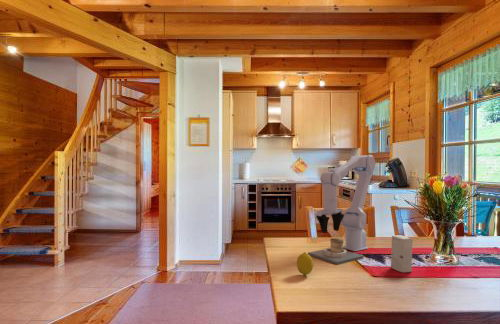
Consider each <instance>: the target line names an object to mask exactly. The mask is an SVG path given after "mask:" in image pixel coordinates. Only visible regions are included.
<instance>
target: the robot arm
mask: <svg viewBox="0 0 500 324" xmlns="http://www.w3.org/2000/svg"><path fill="white" fill-rule="evenodd" d="M375 168H376V159H375V157H374V156H373V155H372V154H368V155H367V154H365V155H364V154H363V155H352V156H350V158H349V160H348V161H346V162H345V163H344V164H341V163H338V164H336V165H335V167H334V168H331V169H330V170H329V171H324V172H323V173H322V174H321V176H320V179H319V180H320V183H321V187H322V189H323V198H322V199H323V200H322V201H323V202H322V204H323V209H321V210H317V211H316V220H317V222H318V223H319V226H320V229H321V233H324V234H327V232H328V224H329V219H330V217H329V216H330V215H331V218H332V225H333V226H332V227H333V231H336V232H338V231H339V230H340V226H342V227H343V229H345V234H344V237H345V242H344V243H345V245H343V249H344V250H347V251H348V250H349V251H352V252H358V251H362V250H368V249H369V247H368V246H367V232H366V231H365V229H364V228H365V227H366V225H367V214H366V212H365V211H364V210H363V209H364V205H365V201H366V198H367V193H368V190H369V186H370V182H371V179H372V175H373V174H374V171H375ZM352 170H353V171H354V173H355V174H356V175H357V176H358V178H357V183H356V187H355V191H354V194H353V197H352V201H351V205H350V207H348V208H346V209H345V210H344V209H343V208H338V185H339V184H340V183H341V180H342V179H344V178H345V177H347V176H348V174H349V172H350V171H352Z"/></svg>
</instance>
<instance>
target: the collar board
mask: <svg viewBox="0 0 500 324" xmlns="http://www.w3.org/2000/svg"><path fill="white" fill-rule="evenodd" d="M330 248H331V247H326V248H323V249H319V250H314V251H308V252H307V254H309V255H310V256H311V257H312V258H316V259H319V260H322V261H325V262H328V263H331V264H335V265H341V264H345V263H349V262H354V261H358V260H362V259H364V257H365V255H362V254H359V253H356V252H353V251H352V252H351V251H350V250H349V251H348V250H347V249H345V248H343V252H341V253H332V252H330Z"/></svg>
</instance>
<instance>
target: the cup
mask: <svg viewBox="0 0 500 324" xmlns="http://www.w3.org/2000/svg"><path fill="white" fill-rule="evenodd" d="M329 241H330V247H329V248H330V252H332V253H341V252H343V249H344V248H343V246H344V243H345V242H344V239H341V238H336V237H335V238H334V237H333V238H330V239H329Z"/></svg>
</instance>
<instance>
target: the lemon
mask: <svg viewBox="0 0 500 324" xmlns="http://www.w3.org/2000/svg"><path fill="white" fill-rule="evenodd" d="M296 267H297V270H298V272H299V274H301V275H303V276H304V277H306V276H307V275H309V274H310V273H311V272H312V270H313V268H314V261H313V257H312V256H310V255H309V254H308V252H303V253H300V254H299V255H298V257H297V259H296Z"/></svg>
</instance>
